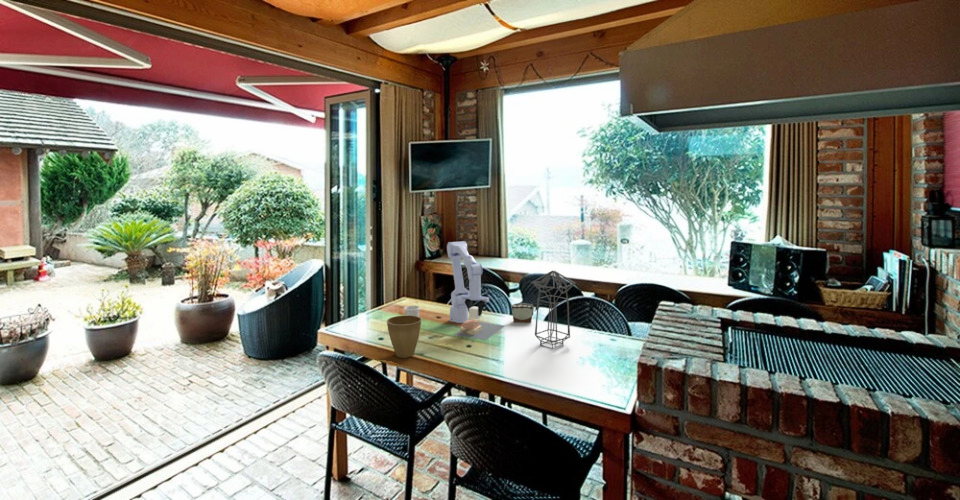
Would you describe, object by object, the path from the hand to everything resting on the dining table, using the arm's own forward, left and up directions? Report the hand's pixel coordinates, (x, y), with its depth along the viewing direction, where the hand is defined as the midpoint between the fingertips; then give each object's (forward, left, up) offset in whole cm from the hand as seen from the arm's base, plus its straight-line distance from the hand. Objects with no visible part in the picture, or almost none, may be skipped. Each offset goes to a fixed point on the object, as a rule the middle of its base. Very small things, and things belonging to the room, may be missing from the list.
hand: (475, 314), depth 222 cm
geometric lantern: (+40, -2, -10) cm, 42 cm away
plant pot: (-15, -40, -10) cm, 43 cm away
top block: (0, 0, -2) cm, 2 cm away
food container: (+15, +26, -10) cm, 32 cm away
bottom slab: (-2, -2, -9) cm, 9 cm away
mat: (+1, +2, -9) cm, 10 cm away
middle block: (-2, -2, -6) cm, 7 cm away
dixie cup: (-36, -4, -10) cm, 37 cm away
